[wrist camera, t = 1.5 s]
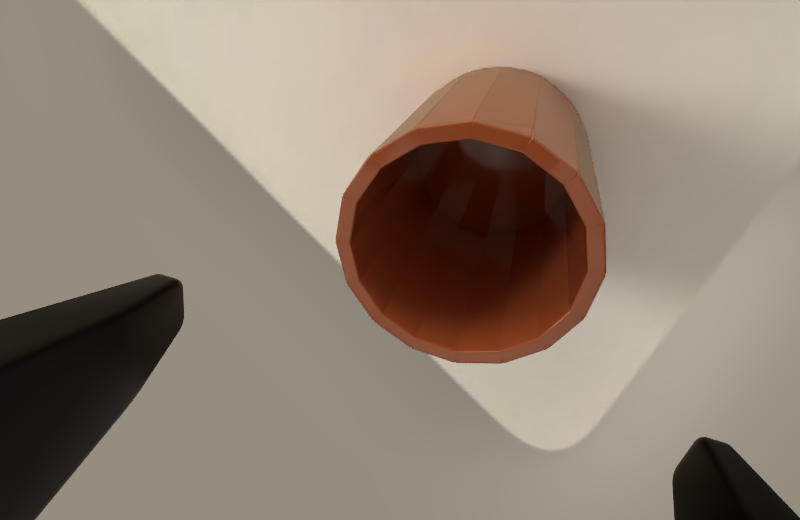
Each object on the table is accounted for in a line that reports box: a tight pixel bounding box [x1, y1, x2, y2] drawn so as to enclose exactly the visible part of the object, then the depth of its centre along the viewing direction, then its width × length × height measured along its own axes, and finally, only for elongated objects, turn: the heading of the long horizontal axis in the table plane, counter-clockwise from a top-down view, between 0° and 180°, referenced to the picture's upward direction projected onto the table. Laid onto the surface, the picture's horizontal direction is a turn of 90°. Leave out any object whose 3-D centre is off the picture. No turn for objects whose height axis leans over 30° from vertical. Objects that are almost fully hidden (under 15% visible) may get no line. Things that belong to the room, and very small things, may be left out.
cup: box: [336, 67, 606, 363], centre depth 16 cm, size 6×6×8 cm
